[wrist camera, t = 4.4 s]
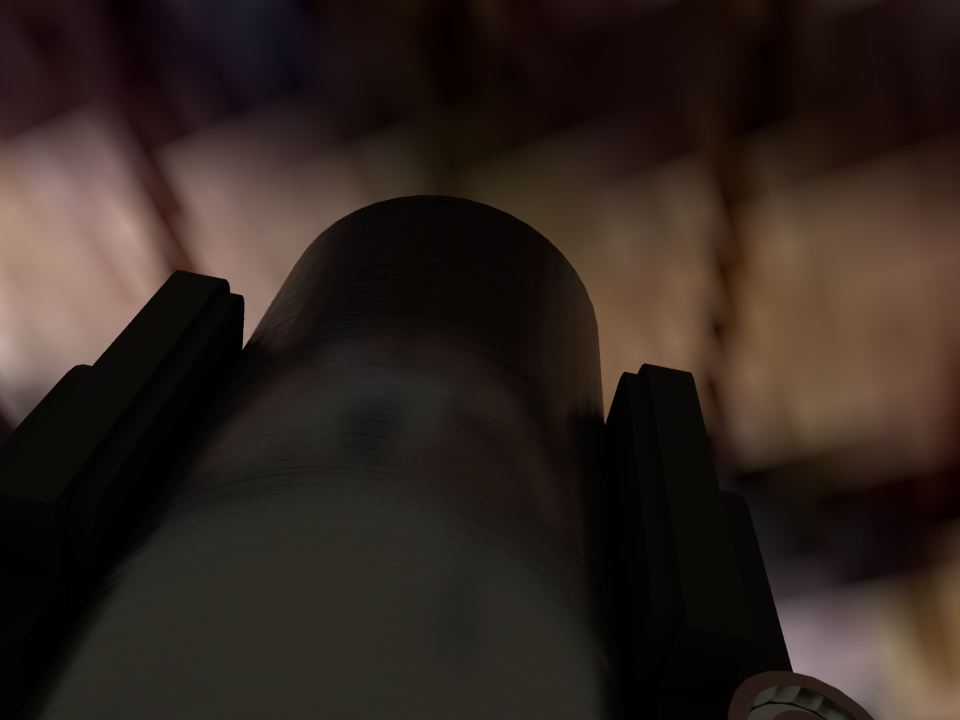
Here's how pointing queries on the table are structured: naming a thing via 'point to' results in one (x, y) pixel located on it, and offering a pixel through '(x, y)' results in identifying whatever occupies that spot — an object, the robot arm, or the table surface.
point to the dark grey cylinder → (377, 501)
